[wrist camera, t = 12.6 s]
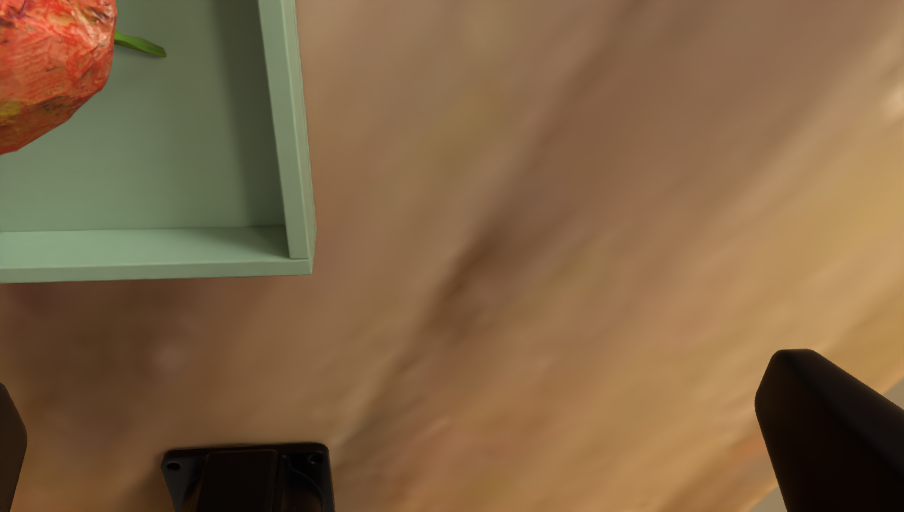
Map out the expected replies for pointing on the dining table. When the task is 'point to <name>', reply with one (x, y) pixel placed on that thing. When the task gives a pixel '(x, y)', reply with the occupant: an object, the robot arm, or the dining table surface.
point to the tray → (173, 157)
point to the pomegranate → (54, 62)
